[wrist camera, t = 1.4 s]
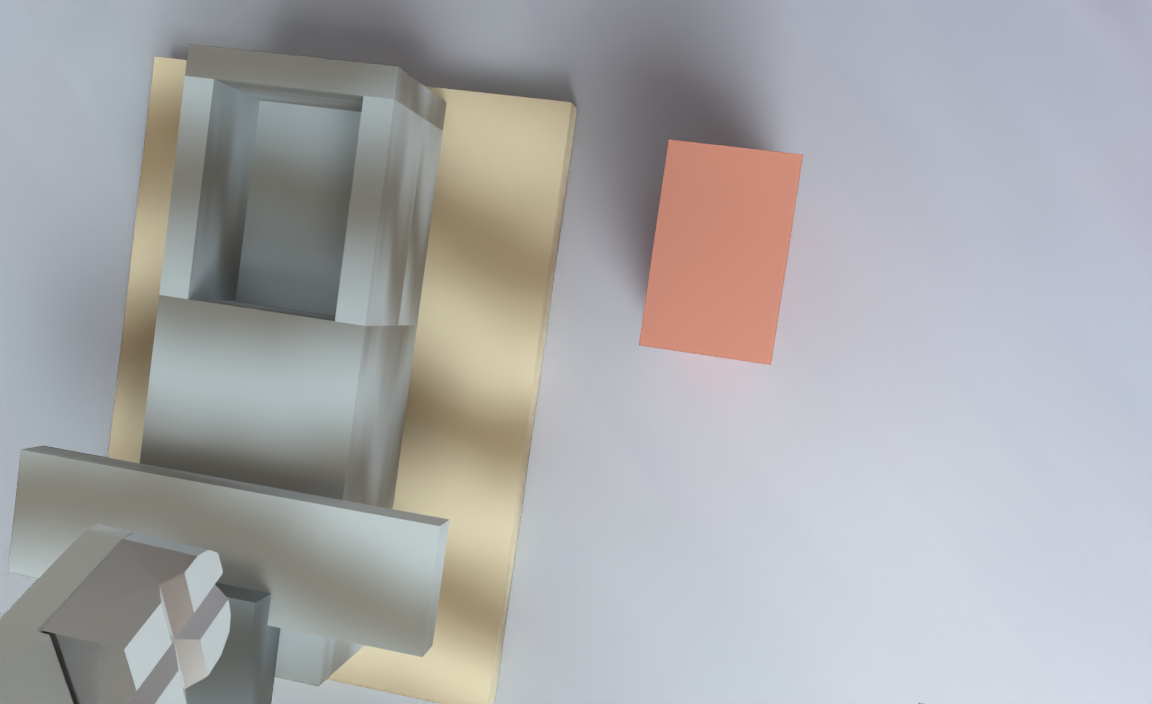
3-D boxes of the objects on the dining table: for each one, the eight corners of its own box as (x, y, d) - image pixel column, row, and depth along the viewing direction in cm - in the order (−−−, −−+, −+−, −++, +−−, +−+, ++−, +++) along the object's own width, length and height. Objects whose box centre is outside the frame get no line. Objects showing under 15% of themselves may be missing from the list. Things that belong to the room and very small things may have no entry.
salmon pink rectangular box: (761, 353, 34) (770, 364, 25) (663, 339, 35) (638, 345, 26) (784, 198, 34) (803, 154, 25) (685, 186, 34) (668, 139, 26)
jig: (495, 700, 36) (426, 809, 28) (108, 618, 39) (-58, 698, 30) (577, 109, 35) (530, 45, 27) (172, 65, 37) (17, -7, 29)
